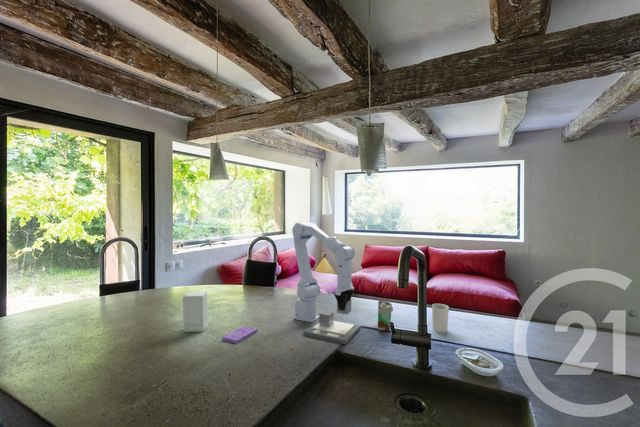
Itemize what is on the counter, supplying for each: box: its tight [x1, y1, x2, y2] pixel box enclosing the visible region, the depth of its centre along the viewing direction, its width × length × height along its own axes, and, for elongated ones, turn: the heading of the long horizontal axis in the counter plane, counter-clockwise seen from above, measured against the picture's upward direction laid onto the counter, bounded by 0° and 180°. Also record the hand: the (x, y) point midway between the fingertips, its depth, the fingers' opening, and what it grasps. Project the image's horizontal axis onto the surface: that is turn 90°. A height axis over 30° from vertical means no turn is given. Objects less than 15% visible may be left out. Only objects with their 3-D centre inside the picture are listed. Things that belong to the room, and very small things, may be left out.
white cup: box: [431, 303, 450, 333], centre depth 129 cm, size 7×7×10 cm
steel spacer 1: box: [318, 310, 335, 327], centre depth 128 cm, size 4×4×5 cm
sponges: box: [222, 326, 259, 344], centre depth 121 cm, size 7×13×2 cm, turn 154°
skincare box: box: [182, 291, 209, 333], centre depth 126 cm, size 8×6×15 cm
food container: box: [377, 299, 394, 333], centre depth 131 cm, size 12×6×10 cm, turn 168°
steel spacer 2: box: [336, 298, 352, 315], centre depth 127 cm, size 4×4×5 cm
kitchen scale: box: [303, 320, 361, 345], centre depth 125 cm, size 18×16×2 cm
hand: (344, 308), depth 127 cm, fingers closed on steel spacer 2, 4 cm apart
